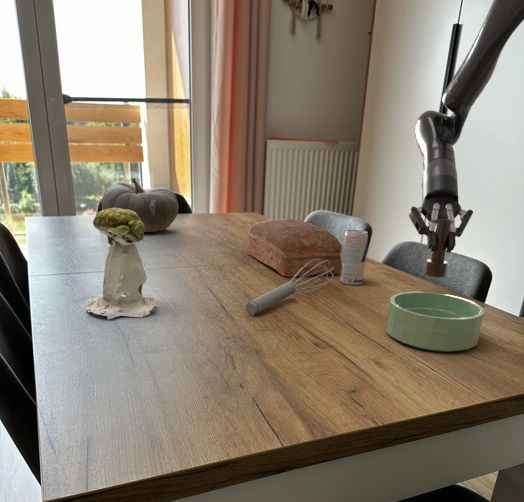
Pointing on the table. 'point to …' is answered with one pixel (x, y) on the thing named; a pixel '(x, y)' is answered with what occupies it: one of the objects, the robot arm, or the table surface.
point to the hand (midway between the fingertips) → (441, 249)
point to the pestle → (439, 250)
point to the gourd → (143, 204)
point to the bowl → (434, 321)
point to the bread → (294, 247)
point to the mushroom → (121, 266)
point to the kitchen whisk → (279, 293)
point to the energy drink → (354, 257)
